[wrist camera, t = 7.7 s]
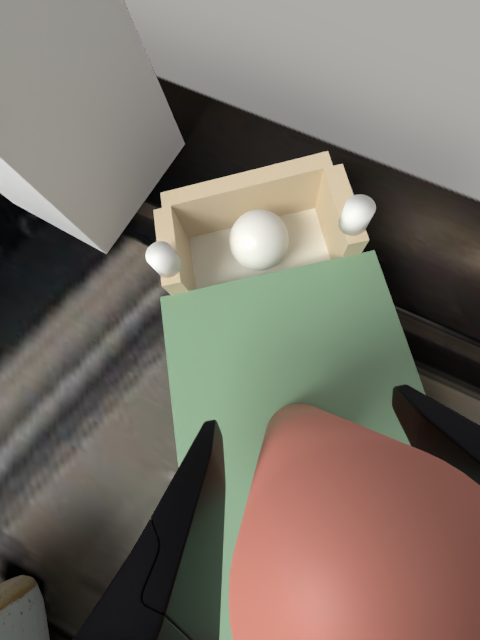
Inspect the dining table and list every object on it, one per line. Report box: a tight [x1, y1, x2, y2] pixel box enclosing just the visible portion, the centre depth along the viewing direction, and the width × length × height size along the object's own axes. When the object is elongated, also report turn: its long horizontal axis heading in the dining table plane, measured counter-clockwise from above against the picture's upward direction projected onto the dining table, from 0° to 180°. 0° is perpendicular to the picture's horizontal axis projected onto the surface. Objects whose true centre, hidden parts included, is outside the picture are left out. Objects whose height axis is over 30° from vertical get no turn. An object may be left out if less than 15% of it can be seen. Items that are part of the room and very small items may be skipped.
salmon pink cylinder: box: [229, 403, 480, 640], centre depth 9 cm, size 4×4×12 cm
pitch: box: [160, 250, 426, 640], centre depth 16 cm, size 19×14×2 cm
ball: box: [229, 209, 289, 271], centre depth 19 cm, size 4×4×4 cm
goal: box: [145, 151, 376, 295], centre depth 18 cm, size 7×13×6 cm, turn 100°
